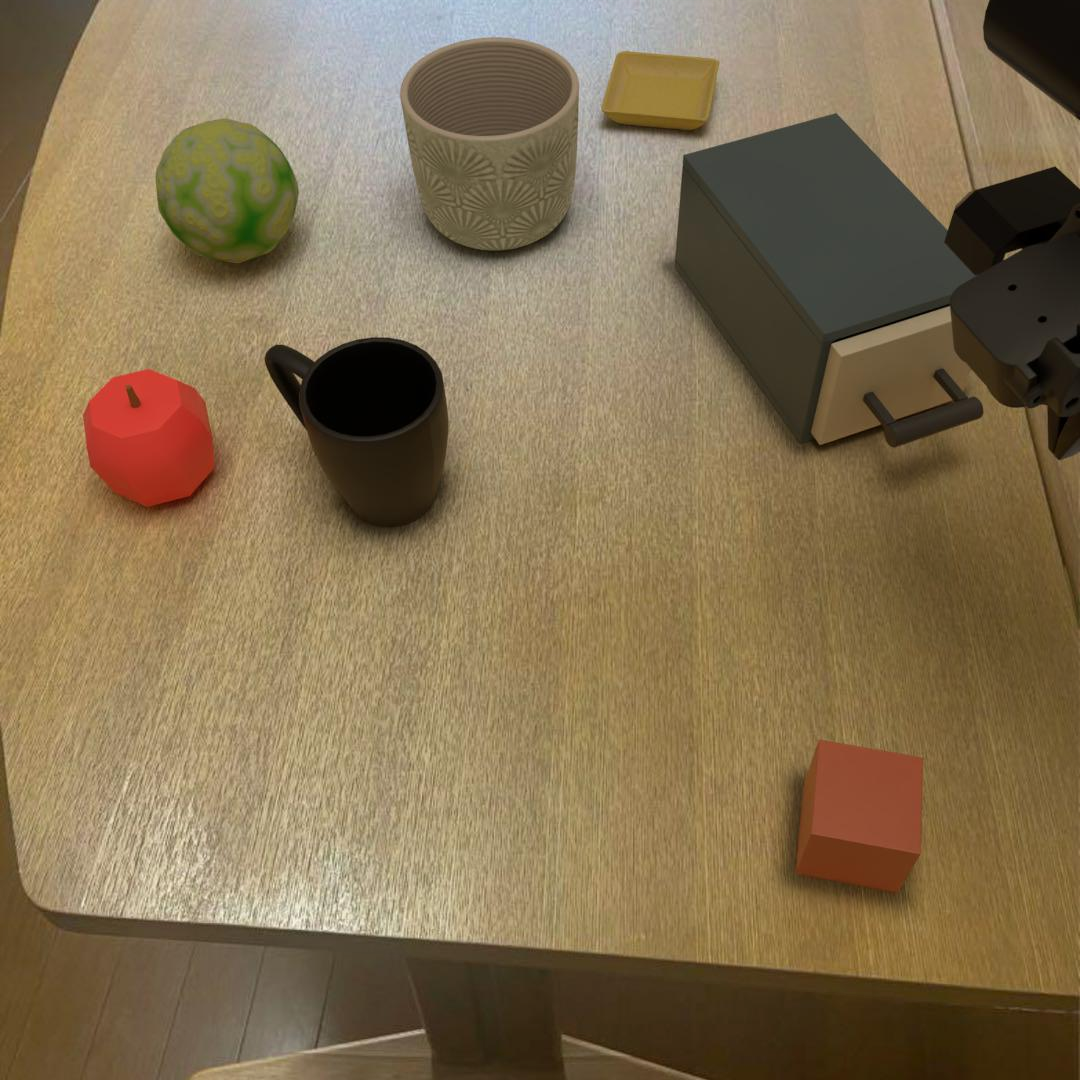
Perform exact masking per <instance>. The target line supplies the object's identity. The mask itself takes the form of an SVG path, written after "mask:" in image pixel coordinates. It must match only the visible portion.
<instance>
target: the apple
mask: <svg viewBox="0 0 1080 1080" xmlns="http://www.w3.org/2000/svg"><path fill="white" fill-rule="evenodd" d="M82 419H83V427H84V437H85V445H86V452H87V457H88V461H89V466H90V468H91V469H92V470H93V472H94V473H95V474H96V475H97V476H98V477H99V478H100V479H101V480H102V481H103V482H104V483H105V484H106V486H108V487H109V489H110V490H112V492H113V493H115V494H117V495H119V496H122V497H124V498H126V499H128V500H131V501H133V502H135V503H137V504H139V505H142V506H145V507H146V508H148V507H152V506H157V505H160V504H164V503H167V502H171V501H172V502H173V501H176V500H179V499H180V500H181V499H183V498H187V497H191V495H192V494H193V493H194V492H195V491H196V490H197V488H198V487H199V486H200V485H201V484H202V483H203V482H204V480H205V479H206V478H207V477H208V476H209V475H210V474H211V473H212V471H213V470H214V469H215V468H216V463H215V462H216V461H215V453H214V440H213V433H212V429H211V423H210V418H209V413H208V408H207V403H206V401H205V400H204V399H203V397H202V395H201V394H200V393H199V391H198V390H197V389H196V388H195V387H193V386H192V385H190V384H187V383H185V382H183V381H180V380H178V379H175V378H173V377H170V376H169V375H166V374H162V373H160V372H158V371H155V370H152V369H150V368H146V369H143V370H138V371H134V372H129V373H125V374H121V375H116V376H112V377H111V379H109V380H108V382H107V383H105V384H104V386H102V387H101V388H100V390H98V391H97V392H96V393H95V394H94V396H93V397H91V399H89V400H88V404H87V405H86V407H85V409H84V411H83V413H82Z"/></svg>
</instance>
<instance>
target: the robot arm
mask: <svg viewBox="0 0 1080 1080" xmlns="http://www.w3.org/2000/svg"><path fill="white" fill-rule="evenodd" d="M982 31H983V41H984V43H985V46H986V48H987V50H988V51H990V52H991V53H992V54H993V55H994V56H995V57H997V58H998V59H999V60H1000V61H1002V62H1003V63H1004V64H1006V65H1007V66H1008V67H1010V68H1011V69H1012V70H1014V71H1015V72H1016V73H1017V74H1019V75H1020V76H1021V77H1022V78H1024V79H1025V80H1026V81H1028V82H1029V83H1030V84H1031V85H1033V86H1034V88H1035V87H1036V88H1037V90H1039V91H1040V92H1042V93H1043V94H1045V96H1047V97H1048V98H1050V99H1051V100H1052V101H1054V102H1055V103H1056V104H1058V105H1059V107H1061V108H1062V109H1064V110H1065V111H1066V112H1068V113H1069V114H1070V115H1071V116H1072V117H1074V118H1075V119H1077V120H1078V121H1079V122H1080V0H988V2H987V5H986V8H985V12H984V18H983V24H982ZM947 230H948V231H947V234H946V238H945V241H944V243H945V244H946V245H947V246H948V247H949V248H950V249H951V250H952V251H953V253H954V254H955V255H956V256H957V257H958V258H959V259H960V260H961V261H962V262H963V263H964V264H965V265H966V266H967V268H968V269H969V270H970V271H971V272H972V273H973V274H974V275H977V276H975V277H974V278H972V279H970V280H968V281H967V282H965V283H963V284H962V285H960V286H959V287H958V288H956V289H955V290H954V292H953V293H952V295H951V297H950V312H951V323H952V333H953V344H954V350H955V352H956V354H957V355H958V357H959V358H960V359H961V360H962V361H964V362H966V363H967V365H968V366H969V367H970V368H971V371H972V372H973V373H974V374H975V375H976V376H977V377H978V378H979V380H980V381H981V382H982V383H983V384H984V386H985V387H986V388H987V390H988V391H989V393H990V395H991V396H992V398H994V400H996V401H997V402H998V403H999V404H1001V405H1002V406H1004V407H1007V408H1011V409H1012V408H1013V409H1015V408H1016V409H1019V408H1025V407H1026V408H1027V409H1029V410H1030V409H1035V408H1037V407H1038V406H1046V409H1047V410H1046V413H1047V415H1046V417H1047V449H1048V450H1049V451H1050V453H1051V454H1052V455H1053V456H1054V457H1055V458H1056V460H1057V461H1063V460H1065V459H1068V458H1071V457H1073V456H1076V455H1077V454H1079V453H1080V187H1079V186H1077V184H1075V183H1074V182H1073V181H1072V180H1071V179H1070V178H1069V177H1068V176H1067V175H1066V174H1065V173H1064V172H1062V171H1061V170H1060V169H1059V168H1058V167H1057V166H1051V167H1048V168H1045V169H1041V170H1038V171H1034V172H1031V173H1028V174H1025V175H1021V176H1018V177H1014V178H1010V179H1007V180H1004V181H1001V182H998V183H993V184H991V185H987V186H983V187H981V188H977V189H974V190H971V191H968V192H967V194H966V195H965V196H963V198H962V199H960V200H959V202H957V203H956V205H955V206H954V209H953V212H952V216H951V218H950V222H949V225H948V228H947ZM1018 250H1019V251H1018ZM1016 251H1017V252H1016ZM1011 252H1015V253H1014V254H1012V255H1010V256H1008V257H1007V258H1005V257H1006V254H1008V253H1011Z"/></svg>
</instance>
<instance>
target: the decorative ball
mask: <svg viewBox="0 0 1080 1080" xmlns="http://www.w3.org/2000/svg"><path fill="white" fill-rule="evenodd" d="M293 170H294V169H293V168H292V166H291V164H290V162H289V161H288V159H287V156H285V153H284V152H283V151H282V149H281V148H280V147H279V146H278V144H277V143H276V142H274V141H273V140H272V138H271V137H269V136H268V135H267V134H265V132H263V131H262V130H261V129H259V128H258V127H257V126H256V125H253V124H251V123H248V122H243V121H237V120H235V119H231V118H227V117H222V118H217V119H212V120H207V121H204V122H200V123H197V124H195V125H191V126H188V127H185V128H184V129H182V130H181V131H179V133H178V134H176V135H175V136H174V137H173V138H172V140H171V141H170V143H169V144H168V145H167V146H165V149H164V150H163V152H162V155H161V158H160V161H159V162H158V165H157V167H156V170H155V189H156V200H157V208H158V211H159V214H160V216H161V218H162V219H163V220H164V222H165V223H166V225H167V226H168V228H169V230H170V232H171V233H172V235H174V236H175V237H176V238H177V239H178V240H179V241H180V242H181V243H182V244H183V245H185V247H187V248H188V249H189V250H190V251H191V252H193V253H194V254H195V255H197V256H200V257H202V258H206V259H209V260H210V259H211V260H214V261H220V262H226V263H232V264H233V263H234V264H240V263H243V262H247V261H251V260H253V259H255V258H258V257H261V256H264V255H266V254H269V253H270V252H272V251H273V250H274V249H275V248H276V247H277V246H278V245H279V243H280V242H281V241H282V240H283V238H284V237H285V236H286V234H287V232H288V231H289V229H290V227H291V225H292V223H293V220H294V216H295V215H296V209H297V206H298V200H299V193H300V192H299V182H298V180H297V177H296V175H295V173H294V171H293Z"/></svg>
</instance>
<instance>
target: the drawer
mask: <svg viewBox="0 0 1080 1080" xmlns="http://www.w3.org/2000/svg"><path fill="white" fill-rule="evenodd" d="M971 372H972V369H971V368H970V367H969V366H968V365H967V363H966V362H964V361H962V360H961V359H960V358H959V357H958V355H957V354H956V352H955V350H954V344H953V333H952V323H951V312H950V304H947V305H944V306H941V307H938V308H934V309H931V310H928V311H925V312H922V313H919V314H916V315H912V316H909V317H906V318H903V319H900V320H897V321H893V322H890V323H887V324H884V325H881V326H878V327H875V328H871V329H868V330H865V331H862V332H859V333H856V334H853V335H849V336H846V337H843V338H840V339H837V340H834V341H833V343H832V344H831V347H830V351H829V356H828V360H827V364H826V369H825V373H824V377H823V382H822V386H821V390H820V395H819V399H818V403H817V408H816V412H815V416H814V421H813V425H812V430H811V434H812V435H813V436H814V438H815V439H814V440H815V441H816V442H817V443H818V445H820V446H821V445H824V444H828V443H830V442H833V441H836V440H837V441H838V440H840V439H842V438H845V437H848V436H851V435H854V434H857V433H860V432H863V431H866V430H869V429H872V428H875V427H879V426H882V427H883V428H884V430H883V435H884V439H885V441H886V443H887V444H888V446H889V447H891V448H897V447H900V446H903V445H906V444H910V443H912V442H915V441H918V440H921V439H924V438H926V437H927V438H928V437H931V436H933V435H935V434H939V433H942V432H945V431H947V430H951V429H953V428H957V427H959V426H962V425H966V424H968V423H971V422H973V421H977V420H979V419H981V418H982V417H983V415H984V406H983V404H982V403H983V402H982V401H981V400H980V398H978V397H977V396H969V397H968V396H967V394H966V393H965V392H964V391H965V388H966V386H967V383H968V380H969V377H970V375H971ZM952 401H953V402H952ZM949 402H952V403H949ZM946 403H949V404H946ZM944 404H946V405H944ZM940 405H943V406H940ZM937 406H940V407H937ZM935 407H936V408H935ZM931 408H935V409H931ZM928 409H931V410H928ZM926 410H928V411H926ZM923 411H925V412H923ZM920 412H922V413H920ZM917 413H919V414H917ZM913 414H916V415H913ZM911 415H913V416H911ZM908 416H910V417H908ZM905 417H907V418H905ZM903 418H904V419H903ZM899 419H901V420H899Z"/></svg>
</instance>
